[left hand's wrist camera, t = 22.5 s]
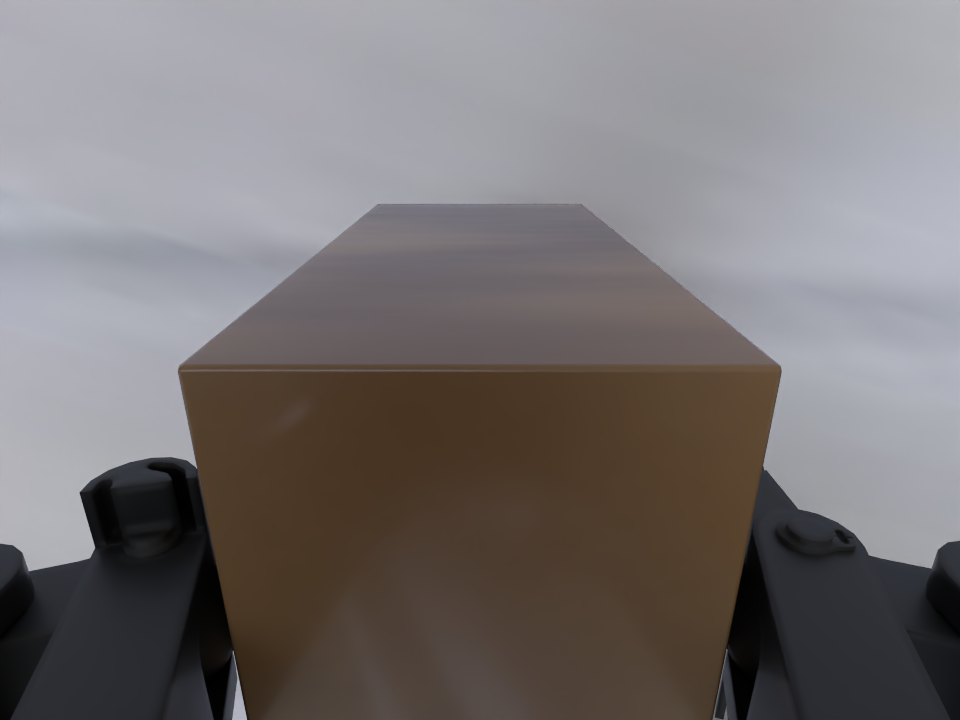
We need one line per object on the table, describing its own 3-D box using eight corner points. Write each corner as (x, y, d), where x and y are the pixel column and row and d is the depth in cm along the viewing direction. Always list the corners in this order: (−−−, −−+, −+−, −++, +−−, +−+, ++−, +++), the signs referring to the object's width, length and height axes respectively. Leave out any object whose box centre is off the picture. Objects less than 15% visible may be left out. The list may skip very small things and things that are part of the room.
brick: (582, 203, 15) (786, 366, 5) (565, 476, 18) (674, 920, 8) (376, 203, 15) (173, 366, 5) (393, 476, 18) (285, 921, 8)
